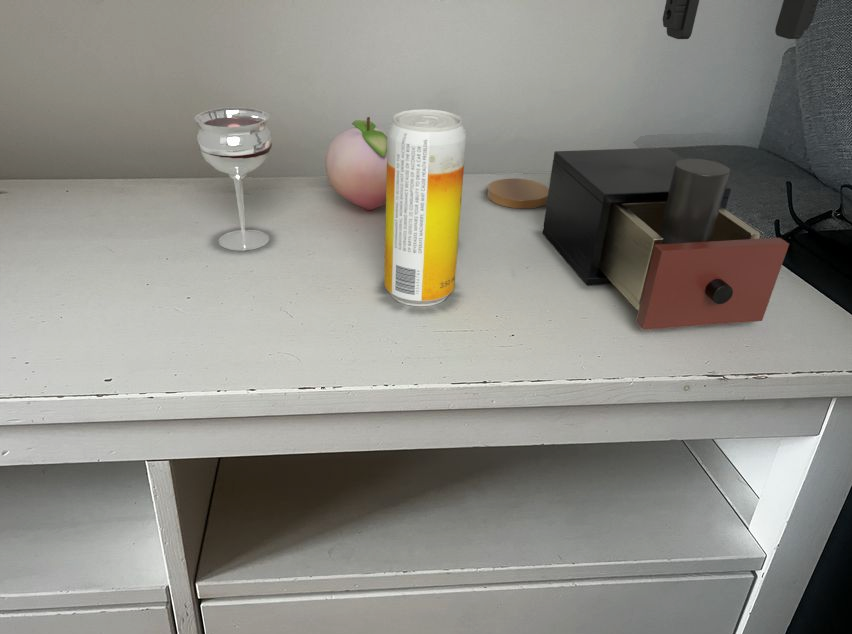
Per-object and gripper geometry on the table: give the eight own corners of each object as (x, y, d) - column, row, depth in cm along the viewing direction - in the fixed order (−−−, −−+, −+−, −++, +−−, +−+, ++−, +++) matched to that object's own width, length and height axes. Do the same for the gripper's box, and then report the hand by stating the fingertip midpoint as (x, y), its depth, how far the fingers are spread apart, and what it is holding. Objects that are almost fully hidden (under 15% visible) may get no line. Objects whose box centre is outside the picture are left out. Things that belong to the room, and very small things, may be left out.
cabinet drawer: (771, 328, 57) (800, 250, 53) (649, 338, 56) (670, 258, 52) (694, 263, 67) (714, 193, 63) (589, 270, 65) (602, 198, 61)
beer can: (461, 283, 64) (475, 112, 56) (443, 315, 60) (456, 133, 51) (396, 272, 66) (402, 104, 58) (374, 302, 61) (376, 124, 53)
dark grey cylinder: (682, 269, 63) (712, 157, 58) (706, 291, 60) (741, 174, 54) (639, 272, 63) (666, 159, 57) (661, 294, 59) (692, 176, 54)
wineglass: (203, 231, 73) (188, 110, 66) (269, 222, 75) (260, 104, 68) (216, 259, 68) (200, 130, 61) (286, 248, 70) (278, 123, 63)
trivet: (536, 185, 86) (537, 177, 86) (557, 207, 80) (559, 198, 80) (480, 187, 85) (480, 179, 84) (497, 210, 79) (498, 201, 79)
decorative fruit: (313, 202, 80) (310, 110, 75) (379, 191, 83) (380, 102, 78) (349, 233, 73) (348, 134, 68) (419, 220, 76) (423, 124, 71)
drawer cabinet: (705, 278, 66) (731, 188, 62) (586, 286, 65) (604, 194, 60) (646, 228, 76) (665, 147, 71) (541, 233, 74) (554, 151, 69)
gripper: (737, -279, 38) (665, 48, 47) (970, -264, 40) (859, 47, 49) (667, -257, 44) (616, 29, 53) (872, -245, 46) (790, 28, 55)
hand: (733, 37), depth 51 cm, fingers open, 8 cm apart
